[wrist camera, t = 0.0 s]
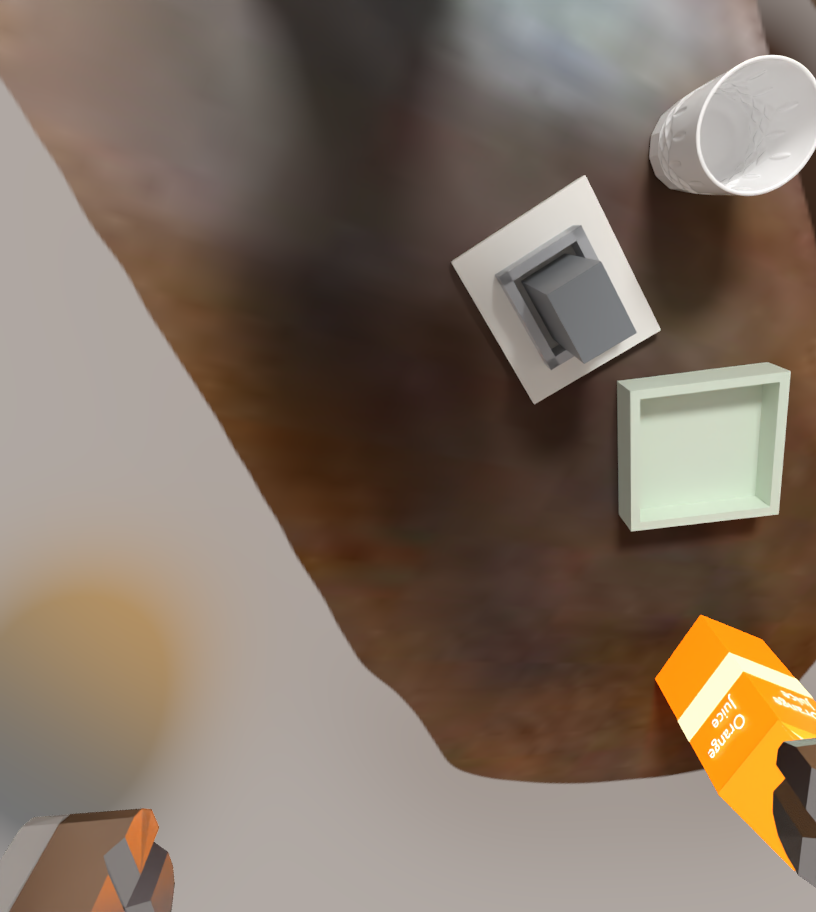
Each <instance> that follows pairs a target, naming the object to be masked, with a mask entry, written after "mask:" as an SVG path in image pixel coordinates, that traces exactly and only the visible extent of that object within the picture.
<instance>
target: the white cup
mask: <svg viewBox="0 0 816 912" xmlns="http://www.w3.org/2000/svg"><path fill="white" fill-rule="evenodd" d="M815 148H816V80H815V78H814V76H813V75H812V74H811V73H810V71H809V70H808V69H807V68H805V67H804V66H803V65H802V64H800V63H799V62H797V61H795V60H793V59H791V58H788V57H785V56H779V55H765V56H759V57H755V58H752V59H749V60H747V61H745V62H743V63H741V64H739V65H737V66H735V67H734V68H732V69H730V70H728V71H727V72H725V73H723V74H721V75H720V76H718V77H716V78H714V79H712V80H711V81H709V82H707V83H705V84H704V85H702V86H701V87H699V88H697V89H696V90H694V91H693V92H691V93H690V94H688V95H687V96H685V97H684V98H682V99H681V100H679V101H678V102H676V103H675V104H674V105H673V106H672V107H671V108H669V109H668V110H667V111H666V112H665V113H664V114H662V115H661V117H660V119H659V121H658V123H657V125H656V127H655V129H654V131H653V133H652V135H651V140H650V152H649V159H650V162H651V164H652V167H653V170H654V173H655V176H656V177H657V178H658V179H659V180H660V181H662V182H663V183H664V184H665V185H666V186H667V187H668V188H669V189H673V190H678V191H683V192H687V193H694V194H705V195H735V196H754V195H760V194H764V193H767V192H770V191H773V190H775V189H777V188H779V187H781V186H782V185H784V184H785V183H787V182H788V181H789V180H791V179H792V178H793V177H794V176H795V175H796V174H797V173H798V172H799V171H800V170H801V169H802V168H803V167H804V165H805V164H806V163H807V161H808V160H809V158H810V157H811V155H812V154H813V152H814V150H815Z"/></svg>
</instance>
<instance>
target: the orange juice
mask: <svg viewBox="0 0 816 912" xmlns="http://www.w3.org/2000/svg"><path fill="white" fill-rule="evenodd" d="M655 680H656V681H657V683H658V685H659V687H660V689H661V691H662V692H663V694H664V696H665V698H666V700H667V701H668V703H669V705H670V707H671V709H672V711H673V712H674V714H675V716H676V718H677V720H678V723H679V725H680V726H681V728H682V730H683V732H684V734H685V735H686V737H687V739H688V741H689V742H690V743H691V745H692V747H693V749H694V751H695V752H696V754H697V756H698V758H699V760H700V762H701V763H702V765H703V767H704V769H705V771H706V772H707V774H708V776H709V778H710V780H711V782H712V783H713V785H714V787H715V789H716V791H717V792H718V794H719V796H720V797H722V798H723V799H724V801H725V802H726V803H727V804H729V806H730V807H732V809H733V810H734V811H735V812H736V813H737V814H738V815H739V816H740V817H741V818H742V819H743V820H744V821H745V822H746V823H747V824H748V825H749V826H750V827H752V829H753V830H754V831H755V832H756V833H757V834H758V835H759V836H760V837H761V838H762V839H763V840H764V841H765V842H766V843H767V844H768V845H769V846H770V847H771V848H772V849H773V850H774V851H775V852H776V853H777V854H778V855H779V856H780V857H781V858H782V859H783V860H784V861H785V862H786V863H787V864H788V865H789V866H790V867H791V868H792V869H793V870H794V871H795V869H794V867H793V865H792V864H791V862H790V860H789V859H788V857H787V855H786V853H785V851H784V849H783V846H782V844H781V842H780V839H779V837H778V834H777V830H776V826H775V821H774V817H773V813H772V807H773V791H774V790H775V789H776V788H777V787H778V786H779V785H780V784H781V782H782V781H783V780H784V779H785V778H784V776H783V775H782V773H781V772H780V770H779V769H778V767H777V766H776V759H777V751H778V748H779V747H780V745H781V744H782V743H783V741H791V740H800V739H808V738H816V702H815V701H814V700H813V698H812V696H811V695H810V694H809V693H808V692H807V691H806V690H805V688H804V687H803V686H802V685H801V684H800V682H799V681H798V680H797V679H795V678H794V676H793V675H792V674H791V673H790V672H789V670H788V669H787V668H786V667H785V666H784V665H783V663H782V662H781V661H780V660H779V659H778V658H777V656H776V655H775V654H774V653H773V652H772V651H771V649H770V648H769V647H768V646H767V645H766V644H765V642H764V641H763V640H762V639H759V638H757V637H755V636H752V635H750V634H747V633H745V632H742V631H740V630H737V629H735V628H732V627H730V626H727V625H725V624H722V623H720V622H717V621H715V620H713V619H710V618H708V617H705V616H703V615H700V616H699V618H698V619H697V620H696V622H695V623H694V625H693V626H692V627H691V629H690V630H689V632H688V633H687V634H686V636H685V637H684V639H683V640H682V642H681V643H680V644H679V646H678V647H677V649H676V650H675V651H674V653H673V654H672V656H671V657H670V658H669V660H668V661H667V663H666V664H665V665H664V667H663V668H662V670H661V671H660V672H659V674H658V675H657V677H656V678H655Z"/></svg>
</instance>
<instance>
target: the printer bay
mask: <svg viewBox="0 0 816 912" xmlns="http://www.w3.org/2000/svg"><path fill="white" fill-rule="evenodd" d="M564 253H565V254H569V255H574V256H579V257H583V258H588V259H593V260H598V261H601V262H602V264H603V266H604V268H605V270H606V272H607V274H608V276H609V278H610V280H611V282H612V284H613V286H614V288H615V290H616V292H617V294H618V296H619V298H620V300H621V302H622V304H623V306H624V308H625V310H626V312H627V314H628V316H629V318H630V320H631V322H632V324H633V326H634V328H635V330H636V332H637V333H636V334H634V335H633V336H631V337H629V338H627V339H626V340H624V341H622V342H621V343H619V344H617V345H616V346H614V347H612V348H611V349H609V350H607V351H605V352H604V353H602V354H600V355H599V356H597V357H595V358H594V359H592V360H590V361H589V362H587V363H585V364H584V363H582V362H581V361H580V360H579V359H577V358H576V357H575V356H574V355H572V354H571V353H570V352H569V351H567V350H566V349H565V348H564V347H562V346H561V345H560V344H559V343H557V342H556V341H555V340H554V339H552V337H551V335H550V333H549V332H548V330H547V328H546V326H545V324H544V323H543V321H542V319H541V317H540V315H539V313H538V312H537V310H536V308H535V306H534V304H533V303H532V301H531V299H530V297H529V295H528V293H527V292H526V290H525V288H524V286H523V284H522V283H521V281H522V280H523V279H525V278H526V277H528V276H530V275H531V274H533V273H534V272H536V271H537V270H539V269H541V268H542V267H544V266H545V265H547V264H549V263H550V262H552V261H553V260H555V259H557V258H558V257H560V256H561V255H563V254H564ZM451 263H452V265H453V267H454V268H455V270H456V272H457V273H458V275H459V277H460V279H461V280H462V282H463V284H464V286H465V287H466V289H467V291H468V292H469V294H470V296H471V298H472V299H473V301H474V303H475V304H476V306H477V308H478V310H479V311H480V313H481V315H482V316H483V318H484V320H485V322H486V323H487V325H488V327H489V328H490V330H491V332H492V334H493V335H494V337H495V339H496V340H497V342H498V344H499V346H500V347H501V349H502V351H503V352H504V354H505V356H506V358H507V359H508V361H509V363H510V364H511V366H512V368H513V370H514V371H515V373H516V375H517V376H518V378H519V380H520V382H521V383H522V385H523V387H524V388H525V390H526V392H527V394H528V395H529V397H530V399H531V400H532V402H533V403H534V404H536V403H538V402H539V401H541V400H543V399H544V398H546V397H548V396H550V395H551V394H553V393H555V392H556V391H558V390H560V389H562V388H563V387H565V386H567V385H568V384H570V383H572V382H573V381H575V380H577V379H579V378H580V377H582V376H584V375H585V374H587V373H589V372H590V371H592V370H594V369H596V368H597V367H599V366H601V365H602V364H604V363H606V362H607V361H609V360H611V359H613V358H614V357H616V356H618V355H619V354H621V353H623V352H625V351H626V350H628V349H630V348H631V347H633V346H635V345H636V344H638V343H640V342H642V341H643V340H645V339H647V338H648V337H650V336H652V335H653V334H655V333H657V332H659V331H660V330H661V329H660V327H659V325H658V323H657V321H656V319H655V317H654V315H653V313H652V311H651V309H650V307H649V305H648V302H647V300H646V298H645V296H644V294H643V292H642V290H641V288H640V286H639V284H638V282H637V280H636V278H635V276H634V274H633V272H632V270H631V268H630V266H629V264H628V262H627V259H626V257H625V255H624V253H623V251H622V249H621V247H620V245H619V243H618V241H617V239H616V237H615V235H614V233H613V231H612V229H611V227H610V225H609V223H608V221H607V219H606V216H605V214H604V212H603V210H602V208H601V206H600V204H599V202H598V200H597V198H596V196H595V194H594V192H593V190H592V188H591V186H590V184H589V182H588V180H587V178H586V176H585V175H584V176H581V177H580V178H578V179H577V180H575V181H574V182H572V183H571V184H569V185H567V186H566V187H564V188H563V189H561V190H560V191H558V192H557V193H555V194H554V195H552V196H551V197H549V198H548V199H546V200H544V201H543V202H541V203H540V204H538V205H537V206H535V207H534V208H532V209H531V210H529V211H528V212H526V213H524V214H523V215H521V216H520V217H518V218H517V219H515V220H514V221H512V222H511V223H509V224H508V225H506V226H505V227H503V228H501V229H500V230H498V231H497V232H495V233H494V234H492V235H491V236H489V237H488V238H486V239H485V240H483V241H481V242H480V243H478V244H477V245H475V246H474V247H472V248H471V249H469V250H468V251H466V252H465V253H463V254H462V255H460V256H458V257H457V258H455V259H454V260H452V261H451Z"/></svg>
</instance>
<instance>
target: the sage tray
mask: <svg viewBox="0 0 816 912" xmlns="http://www.w3.org/2000/svg"><path fill="white" fill-rule="evenodd" d="M790 374H791V371H789V370H786V369H784V368H781V367H779V366H776V365H774V364H771V363H769V362H765V363H757V364H749V365H741V366H733V367H725V368H717V369H709V370H701V371H693V372H685V373H677V374H669V375H661V376H653V377H645V378H637V379H629V380H621V381H617V424H618V501H619V516H620V517H621V518H622V520H623V521H624V522H625V524H626V525H627V526H628V528H629V529H630V531H640V530H648V529H657V528H665V527H674V526H682V525H691V524H699V523H708V522H717V521H725V520H734V519H742V518H751V517H759V516H768V515H777V514H779V503H780V491H781V480H782V468H783V456H784V444H785V432H786V421H787V409H788V397H789V385H790Z"/></svg>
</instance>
